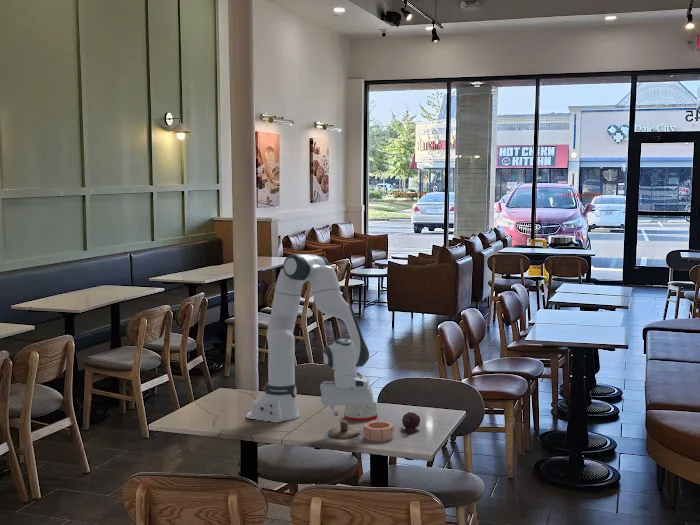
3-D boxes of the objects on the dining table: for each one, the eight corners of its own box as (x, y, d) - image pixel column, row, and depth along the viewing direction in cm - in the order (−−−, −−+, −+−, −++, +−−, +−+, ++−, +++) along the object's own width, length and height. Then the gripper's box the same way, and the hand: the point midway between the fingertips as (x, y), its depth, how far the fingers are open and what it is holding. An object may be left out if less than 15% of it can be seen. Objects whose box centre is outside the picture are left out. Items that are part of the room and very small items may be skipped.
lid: (325, 437, 304) (324, 425, 304) (333, 428, 316) (332, 417, 316) (355, 439, 302) (355, 426, 301) (362, 430, 313) (362, 418, 313)
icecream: (403, 407, 323) (395, 421, 309) (420, 404, 321) (413, 417, 307) (408, 423, 324) (400, 438, 310) (425, 420, 322) (418, 434, 307)
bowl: (362, 441, 301) (361, 428, 300) (368, 433, 311) (367, 420, 311) (390, 443, 298) (390, 429, 298) (395, 434, 309) (395, 421, 308)
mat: (322, 439, 305) (322, 437, 305) (330, 430, 316) (330, 428, 316) (358, 441, 302) (358, 439, 301) (365, 431, 313) (365, 430, 313)
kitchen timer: (383, 416, 335) (383, 381, 334) (364, 424, 324) (363, 387, 323) (357, 411, 344) (356, 377, 342) (337, 418, 333) (336, 383, 331)
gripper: (317, 383, 307) (320, 418, 308) (370, 382, 303) (372, 418, 304) (321, 379, 313) (323, 413, 314) (372, 378, 309) (374, 413, 310)
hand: (348, 415), depth 309 cm, fingers open, 8 cm apart
